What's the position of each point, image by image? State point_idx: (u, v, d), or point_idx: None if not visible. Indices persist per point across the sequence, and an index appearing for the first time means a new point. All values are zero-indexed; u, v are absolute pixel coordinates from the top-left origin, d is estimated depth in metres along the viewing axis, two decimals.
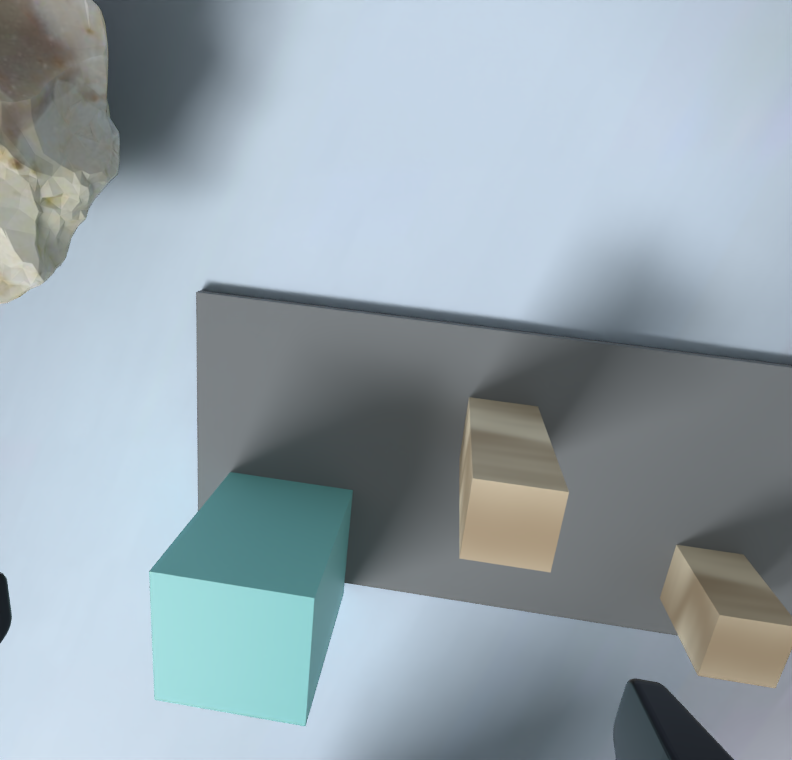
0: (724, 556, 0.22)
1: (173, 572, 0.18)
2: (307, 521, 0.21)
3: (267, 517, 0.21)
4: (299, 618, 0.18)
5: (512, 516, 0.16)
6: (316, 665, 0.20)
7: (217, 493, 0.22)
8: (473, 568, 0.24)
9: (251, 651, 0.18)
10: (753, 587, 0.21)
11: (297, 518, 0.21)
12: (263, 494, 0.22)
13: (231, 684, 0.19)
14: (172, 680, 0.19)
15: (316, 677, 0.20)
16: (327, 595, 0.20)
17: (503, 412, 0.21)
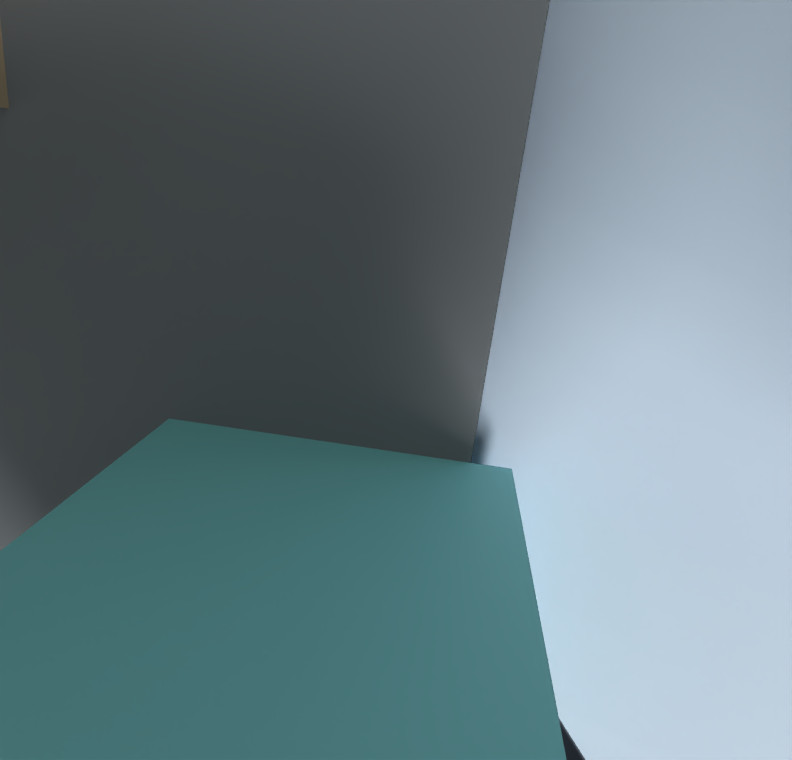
0: None
1: None
2: None
3: None
4: None
5: None
6: None
7: None
8: (393, 34, 0.07)
9: None
10: None
11: None
12: None
13: None
14: None
15: None
16: (133, 650, 0.05)
17: None
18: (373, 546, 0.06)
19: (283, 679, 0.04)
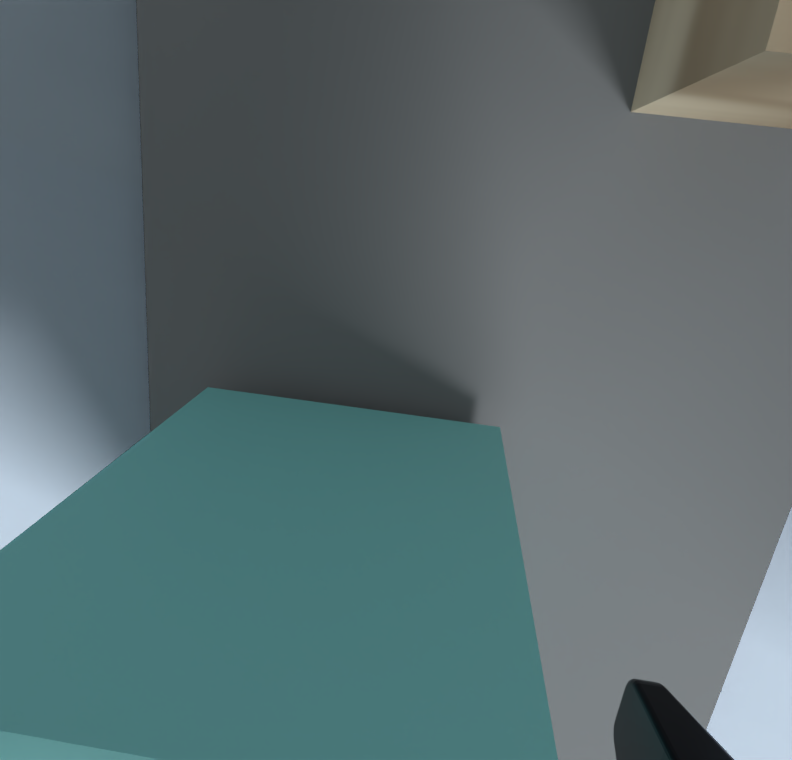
0: None
1: None
2: None
3: None
4: None
5: None
6: (384, 651, 0.05)
7: None
8: (669, 566, 0.11)
9: None
10: None
11: None
12: None
13: None
14: None
15: (468, 649, 0.05)
16: (208, 540, 0.06)
17: None
18: (385, 478, 0.08)
19: (321, 559, 0.06)
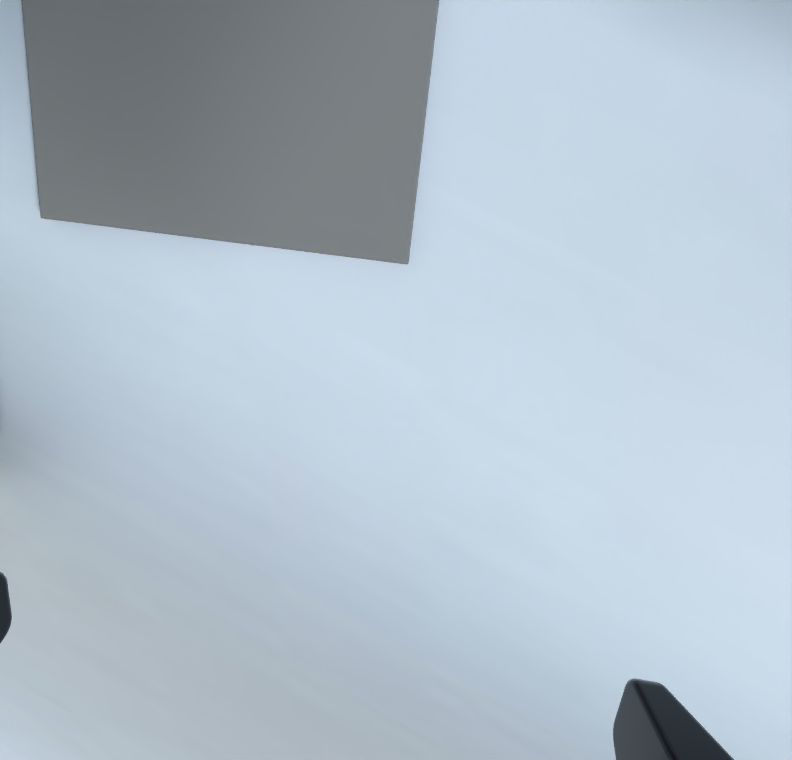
0: None
1: None
2: None
3: None
4: None
5: None
6: None
7: None
8: None
9: None
10: None
11: None
12: None
13: None
14: None
15: None
16: None
17: None
18: None
19: None
